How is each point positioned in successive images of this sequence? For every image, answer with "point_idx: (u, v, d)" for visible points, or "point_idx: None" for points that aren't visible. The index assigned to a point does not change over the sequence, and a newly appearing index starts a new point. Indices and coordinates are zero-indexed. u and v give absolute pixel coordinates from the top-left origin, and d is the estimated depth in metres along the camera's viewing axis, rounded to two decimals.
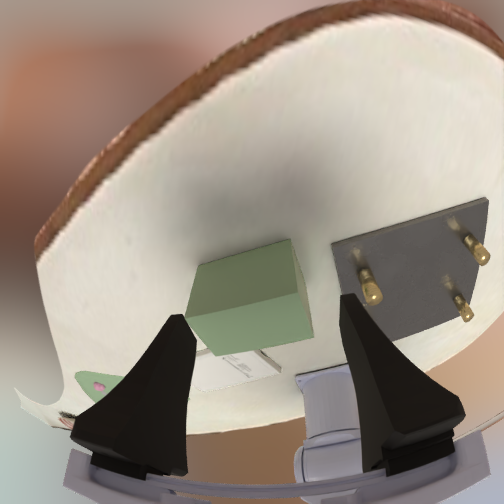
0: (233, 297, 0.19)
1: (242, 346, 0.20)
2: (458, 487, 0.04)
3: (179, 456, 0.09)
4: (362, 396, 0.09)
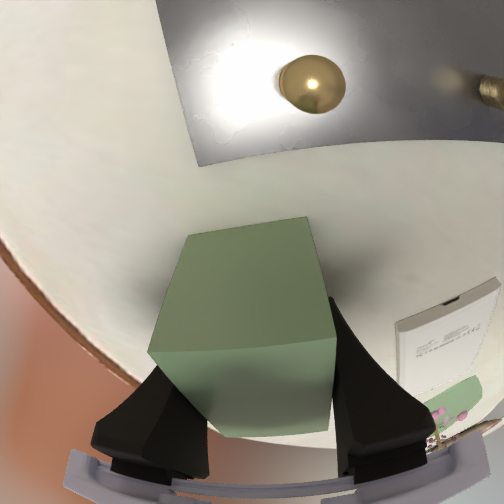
0: None
1: (311, 415, 0.09)
2: (458, 487, 0.04)
3: (202, 459, 0.09)
4: (335, 401, 0.09)
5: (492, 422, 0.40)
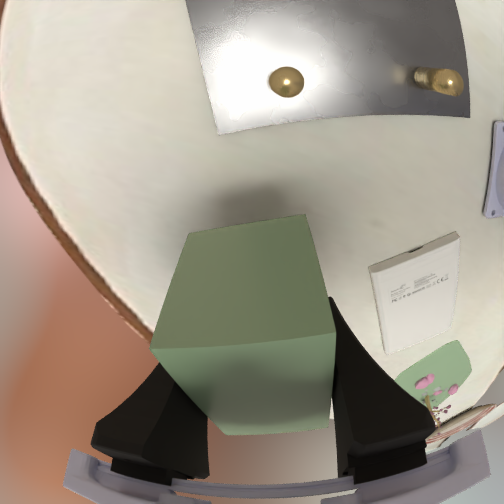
0: None
1: (311, 412, 0.10)
2: (458, 487, 0.04)
3: (202, 459, 0.09)
4: (335, 401, 0.09)
5: (487, 406, 0.45)
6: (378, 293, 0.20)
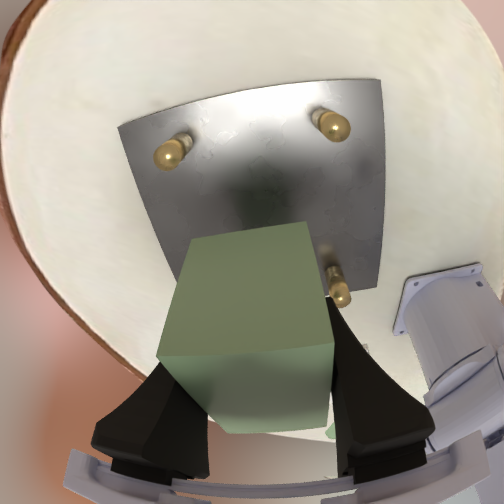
0: None
1: (310, 412, 0.10)
2: (458, 487, 0.04)
3: (202, 459, 0.09)
4: (335, 401, 0.09)
5: None
6: None
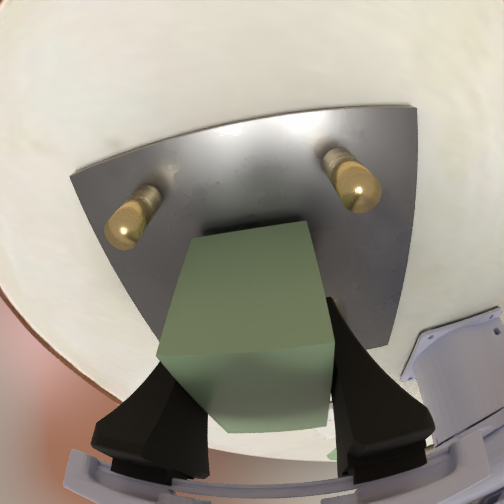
0: None
1: (310, 412, 0.10)
2: (458, 487, 0.04)
3: (202, 459, 0.09)
4: (335, 401, 0.09)
5: None
6: None
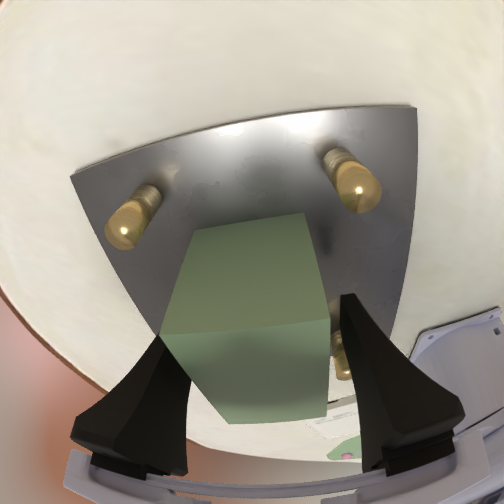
0: None
1: (309, 399, 0.10)
2: (458, 487, 0.04)
3: (179, 457, 0.09)
4: (362, 396, 0.09)
5: None
6: (304, 422, 0.26)
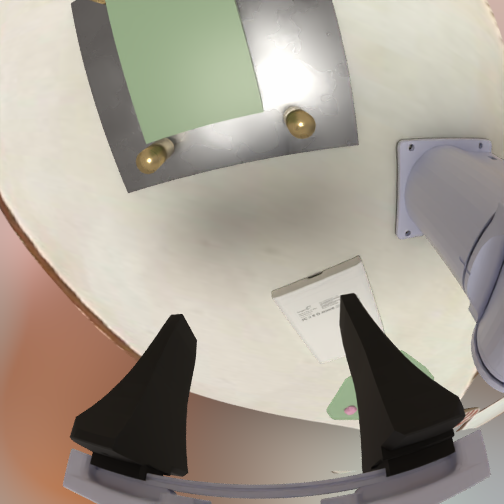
0: None
1: (228, 53, 0.08)
2: (458, 487, 0.04)
3: (180, 456, 0.09)
4: (362, 396, 0.09)
5: (467, 410, 0.48)
6: (285, 313, 0.24)
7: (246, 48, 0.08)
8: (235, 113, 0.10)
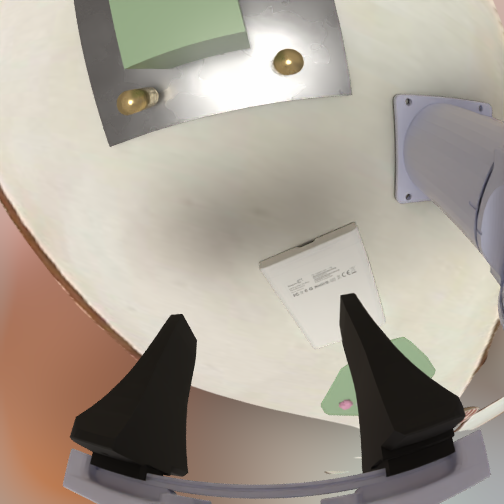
0: None
1: None
2: (458, 487, 0.04)
3: (179, 457, 0.09)
4: (362, 396, 0.09)
5: (466, 409, 0.47)
6: (274, 288, 0.23)
7: None
8: (216, 33, 0.08)
